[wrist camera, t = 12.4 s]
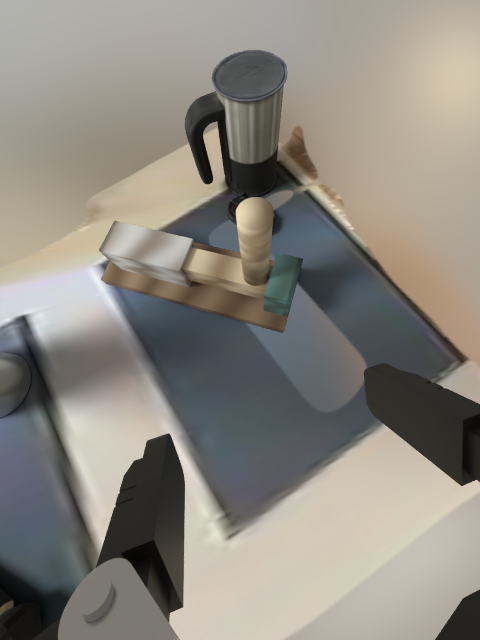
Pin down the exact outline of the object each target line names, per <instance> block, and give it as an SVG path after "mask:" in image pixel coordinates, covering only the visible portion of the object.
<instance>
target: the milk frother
mask: <svg viewBox="0 0 480 640" xmlns="http://www.w3.org/2000/svg"><path fill="white" fill-rule="evenodd" d="M286 78H287V67H286V64H285V62H284V61H283V60H282V59H280V58H279V57H277V56H276V55H274V54H272V53H269V52H266V51H261V50H249V51H248V50H247V51H243V52H238V53H235V54H232V55H230V56H228V57H226V58H225V59H223V60H222V61H221V62H220V63H219V64H218V65H217V66H216V67H215V69H214V71H213V74H212V82H213V85H214V87H215V89H216V91H215V92H212V93H210V94H207V95H205V96H202V97H200V98H198V99H197V100H196V101H194V102H193V103H192V105H191V106H190V108H189V109H188V112H187V115H186V118H185V130H186V134H187V138H188V141H189V144H190V147H191V150H192V153H193V156H194V159H195V162H196V165H197V168H198V171H199V174H200V177H201V179H202V181H203V182H204V183H205V184H211V183H212V182H213V174H212V171H211V166H210V163H209V159H208V155H207V151H206V147H205V144H204V140H203V132H204V130H205V128H206V127H207V126H208V125H209V124H210V123H213V122H216V121H217V122H218V130H219V138H220V145H221V152H222V160H223V168H224V174H225V180H226V184H227V186H228V187H229V189H230V190H231V191H232V192H234V193H235V194H237V195H238V196H237V197H236V198H234V199H233V200H231V201H230V202H229V203H228V205H227V208H226V213H227V216H228V218H229V219H230V220H231V221H232V222H233V223H235V224H236V225H237V220H236V209H237V207H238V205H239V204H240V203H241V202H242V201H244V200H245V199H238V198H240V197H257V196H261V195H263V194H265V193H267V192H268V191H270V190H271V189H272V188H273V186H274V185H275V183H276V181H277V170H276V166H277V151H278V140H279V129H280V119H281V107H282V97H283V86H284V83H285V81H286ZM274 220H275V216H274V214H273V225H274V222H275V221H274ZM272 227H273V226H272Z"/></svg>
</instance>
